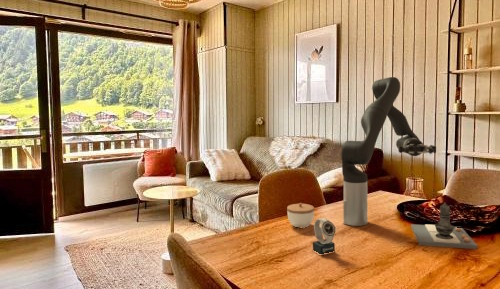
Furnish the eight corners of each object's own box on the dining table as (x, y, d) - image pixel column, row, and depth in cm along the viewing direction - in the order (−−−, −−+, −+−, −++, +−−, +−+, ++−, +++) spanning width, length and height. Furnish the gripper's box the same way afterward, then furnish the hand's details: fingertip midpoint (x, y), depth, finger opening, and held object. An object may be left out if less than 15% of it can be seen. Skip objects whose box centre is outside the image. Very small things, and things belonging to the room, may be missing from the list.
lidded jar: (314, 222, 146) (314, 199, 145) (314, 231, 136) (314, 207, 135) (288, 221, 148) (287, 199, 147) (286, 230, 138) (285, 206, 137)
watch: (324, 258, 111) (323, 224, 110) (309, 249, 118) (309, 217, 117) (338, 254, 113) (338, 221, 112) (323, 246, 121) (323, 214, 120)
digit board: (419, 245, 119) (419, 238, 119) (411, 227, 136) (411, 221, 136) (477, 249, 114) (477, 242, 114) (461, 230, 131) (461, 224, 131)
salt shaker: (457, 239, 118) (458, 204, 117) (440, 239, 118) (440, 204, 117) (448, 233, 124) (449, 199, 123) (431, 233, 124) (431, 200, 123)
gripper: (396, 138, 161) (400, 142, 145) (430, 138, 156) (439, 141, 141) (396, 154, 161) (400, 160, 146) (430, 154, 157) (438, 160, 142)
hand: (419, 151), depth 143 cm, fingers open, 8 cm apart
